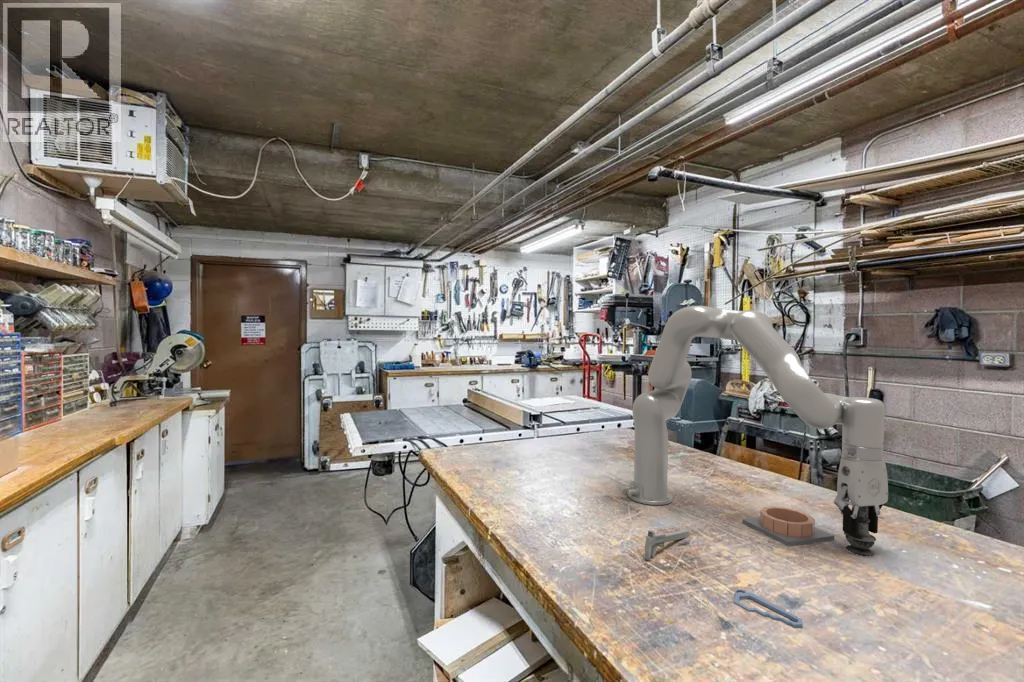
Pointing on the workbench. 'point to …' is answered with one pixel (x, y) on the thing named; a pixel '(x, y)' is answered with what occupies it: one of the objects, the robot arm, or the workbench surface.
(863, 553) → the dark flared piece
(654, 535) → the caliper
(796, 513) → the shaker holder
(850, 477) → the robot arm
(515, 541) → the workbench surface
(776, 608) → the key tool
